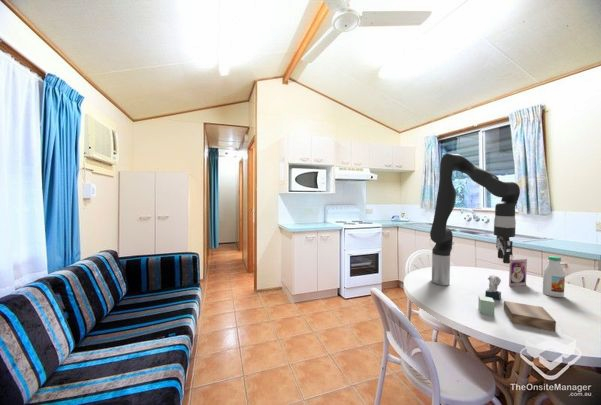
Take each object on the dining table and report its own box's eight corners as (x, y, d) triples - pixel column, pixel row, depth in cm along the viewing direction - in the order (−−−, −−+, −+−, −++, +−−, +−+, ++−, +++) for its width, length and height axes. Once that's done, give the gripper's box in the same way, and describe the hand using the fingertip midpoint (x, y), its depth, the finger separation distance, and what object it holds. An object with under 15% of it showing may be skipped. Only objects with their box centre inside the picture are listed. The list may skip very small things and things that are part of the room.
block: (480, 313, 108) (480, 299, 108) (478, 308, 112) (478, 295, 112) (494, 315, 105) (494, 302, 105) (491, 310, 110) (492, 297, 110)
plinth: (511, 322, 100) (512, 313, 99) (503, 309, 111) (503, 300, 111) (555, 331, 93) (555, 321, 93) (542, 316, 105) (542, 307, 105)
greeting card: (510, 286, 137) (511, 260, 136) (498, 281, 144) (498, 256, 143) (527, 285, 139) (528, 259, 138) (514, 280, 146) (515, 256, 145)
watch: (501, 296, 124) (502, 275, 124) (498, 301, 119) (499, 279, 118) (488, 293, 128) (488, 272, 128) (484, 297, 123) (484, 276, 122)
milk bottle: (542, 294, 126) (544, 257, 125) (542, 290, 131) (543, 254, 130) (564, 299, 120) (566, 259, 120) (563, 294, 126) (564, 256, 125)
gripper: (490, 223, 118) (489, 256, 119) (498, 227, 106) (497, 263, 106) (510, 224, 115) (508, 257, 116) (520, 228, 102) (519, 266, 103)
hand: (503, 260), depth 111 cm, fingers open, 8 cm apart
